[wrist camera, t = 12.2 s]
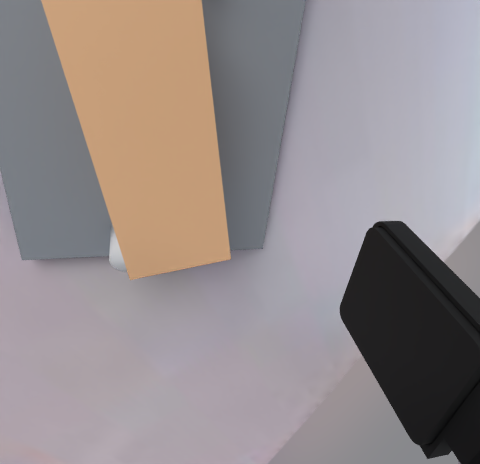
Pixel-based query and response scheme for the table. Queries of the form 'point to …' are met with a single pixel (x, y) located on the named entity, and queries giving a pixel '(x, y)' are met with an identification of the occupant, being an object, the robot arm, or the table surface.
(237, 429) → the table surface
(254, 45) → the base plate
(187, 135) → the block
